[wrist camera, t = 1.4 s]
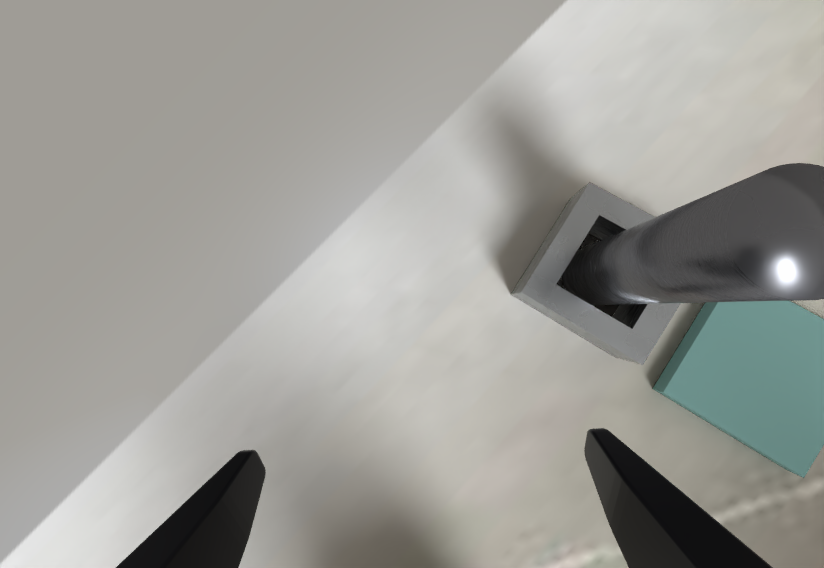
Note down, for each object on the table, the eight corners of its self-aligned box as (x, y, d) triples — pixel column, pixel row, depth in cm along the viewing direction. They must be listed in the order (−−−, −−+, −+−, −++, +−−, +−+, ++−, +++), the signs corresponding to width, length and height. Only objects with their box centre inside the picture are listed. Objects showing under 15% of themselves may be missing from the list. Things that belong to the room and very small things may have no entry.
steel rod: (633, 266, 22) (909, 206, 9) (603, 316, 22) (836, 327, 9) (581, 236, 22) (770, 139, 9) (551, 285, 22) (700, 253, 9)
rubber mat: (858, 347, 20) (880, 350, 19) (786, 469, 20) (803, 477, 19) (722, 273, 21) (736, 272, 20) (652, 388, 21) (662, 392, 20)
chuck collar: (676, 257, 22) (713, 248, 19) (615, 357, 22) (642, 365, 19) (570, 198, 23) (589, 182, 20) (510, 294, 22) (521, 292, 20)
